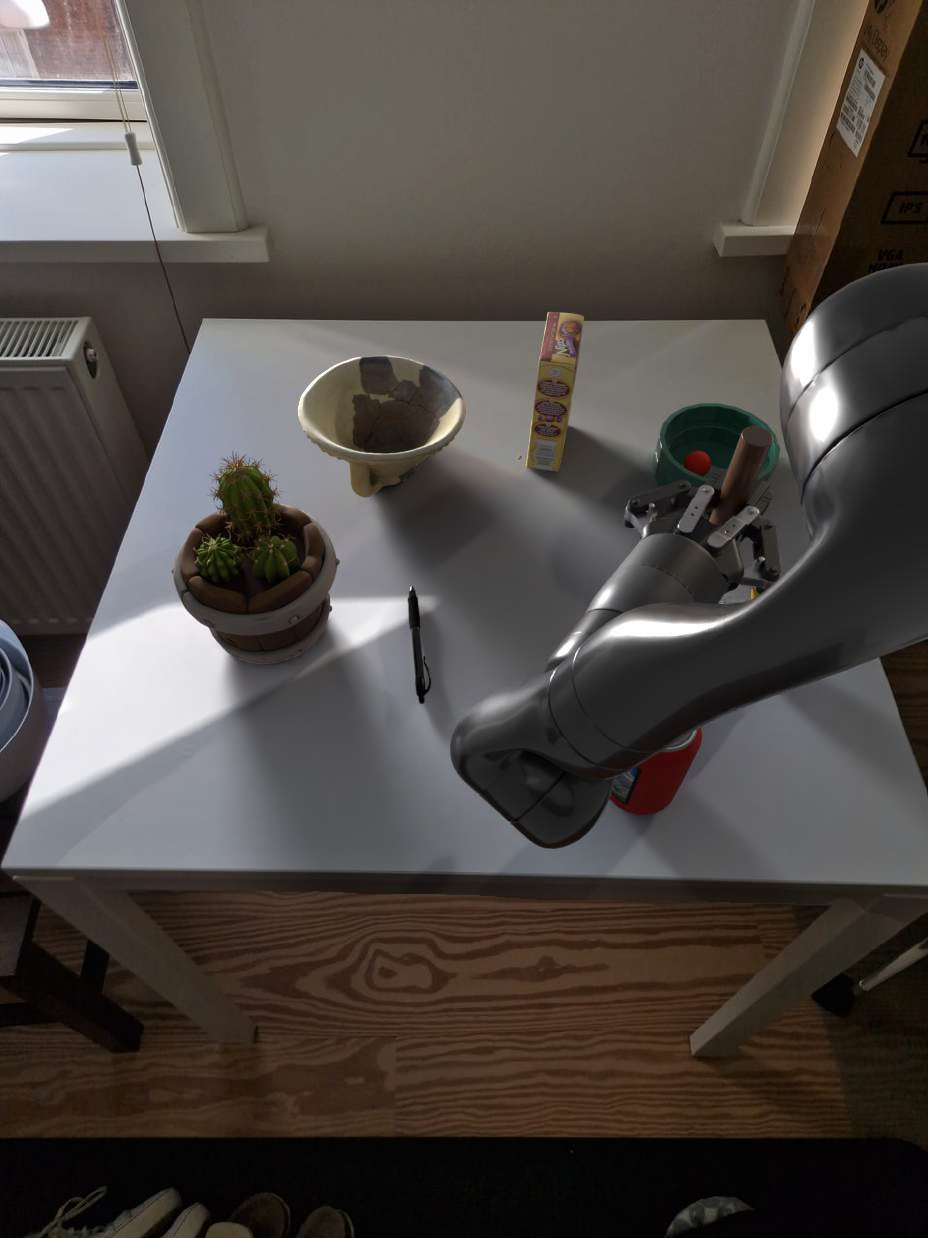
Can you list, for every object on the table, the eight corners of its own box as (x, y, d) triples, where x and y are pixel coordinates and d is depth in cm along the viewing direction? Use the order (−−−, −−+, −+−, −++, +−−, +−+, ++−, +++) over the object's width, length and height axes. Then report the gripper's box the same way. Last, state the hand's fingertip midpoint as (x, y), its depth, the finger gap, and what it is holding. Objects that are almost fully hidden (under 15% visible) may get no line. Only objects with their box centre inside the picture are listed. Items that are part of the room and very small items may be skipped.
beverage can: (601, 744, 78) (622, 676, 69) (675, 755, 78) (707, 688, 68) (596, 812, 75) (618, 751, 65) (674, 824, 74) (708, 764, 64)
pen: (433, 705, 81) (433, 699, 80) (416, 706, 81) (415, 700, 80) (422, 589, 89) (422, 582, 88) (406, 590, 89) (405, 583, 88)
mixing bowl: (772, 448, 102) (785, 416, 98) (760, 527, 94) (773, 495, 90) (662, 426, 104) (670, 393, 100) (642, 501, 97) (650, 468, 93)
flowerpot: (340, 688, 82) (311, 552, 66) (182, 683, 82) (114, 547, 66) (357, 570, 91) (334, 425, 74) (213, 566, 91) (160, 421, 75)
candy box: (562, 474, 99) (576, 365, 87) (525, 469, 100) (534, 360, 87) (570, 423, 104) (585, 313, 92) (535, 418, 105) (545, 309, 92)
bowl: (432, 538, 93) (430, 475, 86) (285, 497, 97) (269, 433, 89) (485, 435, 103) (487, 370, 95) (349, 401, 107) (341, 335, 99)
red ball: (699, 483, 99) (720, 466, 97) (690, 482, 96) (710, 464, 95) (684, 463, 100) (704, 446, 98) (674, 462, 97) (695, 444, 96)
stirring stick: (719, 578, 78) (778, 434, 65) (707, 594, 77) (765, 450, 64) (695, 566, 79) (750, 421, 66) (683, 582, 78) (736, 437, 65)
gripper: (754, 621, 58) (843, 483, 67) (577, 530, 62) (683, 413, 71) (723, 684, 63) (809, 549, 73) (564, 596, 68) (663, 480, 77)
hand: (746, 482), depth 72 cm, fingers closed on stirring stick, 2 cm apart
